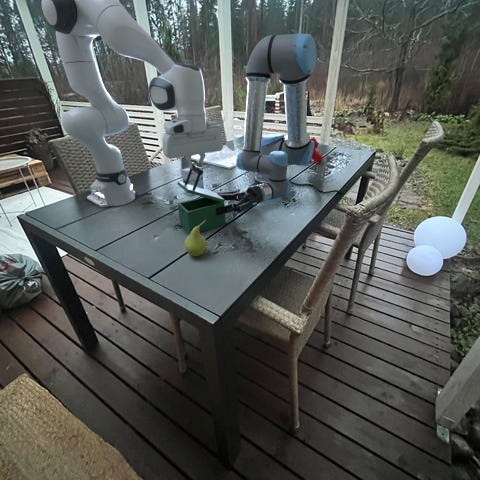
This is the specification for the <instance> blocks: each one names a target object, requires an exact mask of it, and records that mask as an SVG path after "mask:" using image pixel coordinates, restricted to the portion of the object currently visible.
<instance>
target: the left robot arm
mask: <svg viewBox="0 0 480 480" xmlns="http://www.w3.org/2000/svg"><path fill="white" fill-rule="evenodd" d="M39 5H40V10H41V13H42V16H43V18H44V20H45V21H46V23H47V25H48V26H49V27H50V28H51V30H53V31H55V38H56V39H55V40H56V44H57V49H58V54H59V57H60V60H61V64H62V67H63V70H64V72H65V75H66V78H67V81H68V84H69V86H70V88H71V89H72V91H74V92H75V93H76V94H78V95H80V96H83V97H84V98H86V99H87V101H88V102H89V104H90V106H83V107H76V108H73V109H72V108H71V109H70V110H67V111H64V112H63V114H62V117H61V125H62V128H63V130H64V131H65V133H66V134H67V135H68V136H69V137H70V138H71V139H74V140H76V141H78V142H79V143H81V144H82V145H83V146H84V147H85V148H86V149H87V150H88V152H89V154H90V155H91V158H92V160H93V163H94V166H95V169H96V170H95V171H94V175H95V177H96V178H95V180H94V181H93V183H91V184H90V193H91V194H88V195H87V197H86V199H87V201H89V202H91V203H93V204H94V205H96V206H98V207H100V208H109V207H118V206H123V205H127V204H129V203H132V202H133V201H134V200H135V199H136V194H137V192H136V191H135V190H134V188H133V187H134V185H133V184H132V183H131V179H130V178H129V176H128V171H127V169H126V167H125V164H124V160H123V156H122V153H121V150H120V149H119V148H118V147H117V146H115V145H113V144H109V143H107V140H106V139H105V137H106V136H111V135H117V134H119V133H122V132H123V131H126V130H128V128H129V126H130V116H129V114H128V112H127V111H126V109H125V108H124V107H123V106H122V105H119V104H118V103H117V102H116V101H115V100H114V99H113V97H112V96H111V95H110V94H109V92H108V91H107V89H106V87H105V85H104V82H103V80H102V76H101V73H100V70H99V66H98V63H97V60H96V57H95V54H94V50H93V41H95V40H96V42H98V43H100V42H102V41H104V43H105V44H106V45H107V46H108V47H109V48H110V49H111V50H112V51H114V53H117V54H118V55H120V56H123V57H128V58H131V59H134V60H135V59H136V60H139V61H142V62H145V63H147V64H149V65H150V66H152V67H153V68H155V70H156V71H157V72H158V73H159V74H160V75H158V76H155V77H153V78H152V79H151V80H150V82H149V84H148V96H149V99H150V101H151V103H152V105H153V106H154V107H155V108H156V109H157V110H159V111H162V112H170V111H176V117H175V118H173V119H171V120H169V121H167V122H165V123H163V125H162V128H163V131H164V132H163V135H162V152H163V155H164V157H166V158H167V159H169V160H170V159H177V158H184V159H185V160H186V162H187V163H188V168H191V169H192V168H195V166H198V167H201V168H202V167H204V162H203V161H204V158H205V153H209V152H216V151H221V150H222V149H223V145H224V139H223V126H222V124H221V123H220V122H218V121H208V122H207V113H206V109H205V99H206V93H205V83H204V82H205V81H204V77H203V72H202V70H201V68H200V67H199V66H198V65H196V64H195V63H191V62H184V61H176V60H175V59H174V58H173V57H172V56H171V55H170V54H169V53H168V52H167V50H166V49H165V48H164V47H163V46H162V45H161V44H160V43H159V42H158V41H157V40H156V39H155V38H153V37H152V36H151V35H150V34H149V33H148V32H147V31H146V30H145V29H144V28H143V27H142V26H141V25H140V24H139V23H138V22H137V21H136V20H135V19H134V18H133V16H131V14H130V13H129V12H128V10H127V9H126V8H125V6H124V5H123V4H122V3H121V2H120V0H40V3H39ZM197 154H199V155H200V159H199V161H196V163H195V162H194V161H192V160H191V156H194V155H197Z"/></svg>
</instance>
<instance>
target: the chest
mask: <svg viewBox="0 0 480 480" xmlns="http://www.w3.org/2000/svg"><path fill="white" fill-rule="evenodd" d="M223 206H226V203H225V201H224V202H220V201H216V200H213V199H209V198H205V197H202V196H200V197H197V198H193V199H189V200H185V201H181V202H177V211H178V216H179V224H180V226H181V227H182V228H183V229H184V231H186V232H187V233H188V235H190V233H191V231H192V230H193V229H194V228H195V227H196V226H199V225H200V224H201V223H202V222H204V220H205V219H206V222H205V223H203V224H202V225H201V226H200V227H199V232H200V233H201V232H205V231H207V230H210V229H214V228H217V227H220V226H223V225H226V213H225V214H221V215H217V211H216V208H219V207H223Z"/></svg>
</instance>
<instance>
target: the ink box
mask: <svg viewBox="0 0 480 480" xmlns="http://www.w3.org/2000/svg"><path fill="white" fill-rule="evenodd" d="M196 166H197V165H196ZM197 167H198V166H197ZM198 168H200V169H202V170H203V168H202V167H198ZM189 171H190V168H189V167H186V168H183V169H181V175H182V183H185V182H186V179H187V176H188V174H189ZM197 176H198V174H197V173H196V172H194V171H193V170H192V173H191V176H190V178H189V181H188V184H189V185H192V186H194V184H195V181H196V178H197ZM196 187H199V188H203V189H205V187H204V173H203V174H202V175H200V178H199V181H198V183H197V186H196ZM183 191H184V194H185V195H187V196H190V197H191V196H195V195H194V194H191V193H187V192H186V191H185V190H184V189H183Z"/></svg>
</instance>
